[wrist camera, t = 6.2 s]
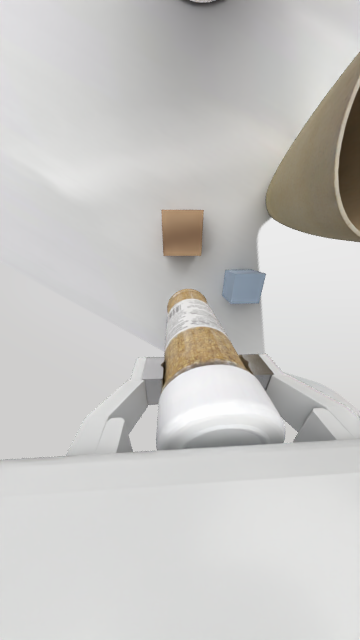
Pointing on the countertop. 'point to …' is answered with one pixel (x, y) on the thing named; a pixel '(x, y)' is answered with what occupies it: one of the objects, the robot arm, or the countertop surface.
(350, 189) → the plant pot
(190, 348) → the sprinkles bottle
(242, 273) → the slate blue block
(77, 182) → the countertop surface
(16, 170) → the countertop surface
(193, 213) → the walnut block
